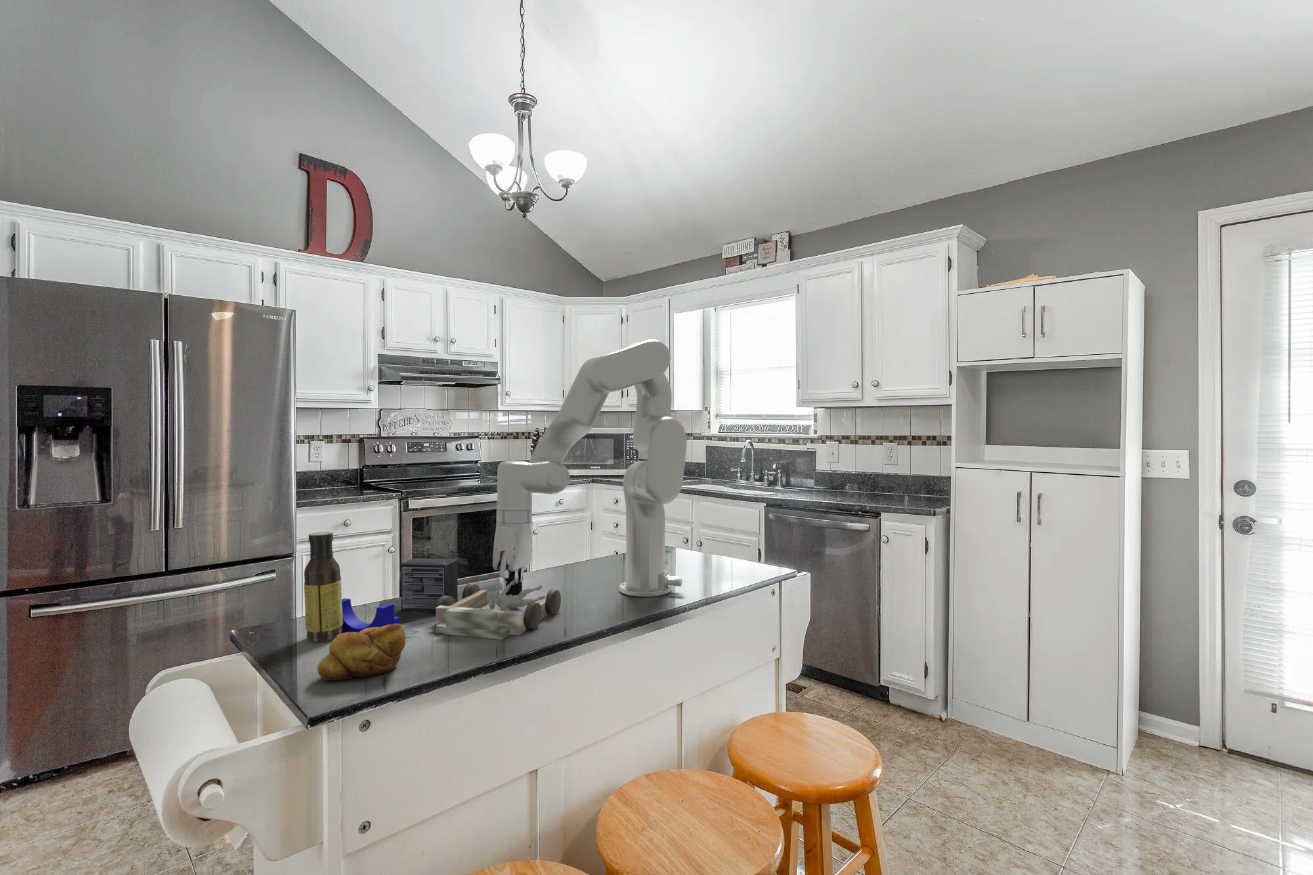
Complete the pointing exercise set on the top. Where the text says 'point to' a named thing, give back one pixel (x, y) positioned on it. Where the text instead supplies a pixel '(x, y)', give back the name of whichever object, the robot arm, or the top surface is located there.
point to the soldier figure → (514, 599)
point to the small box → (427, 583)
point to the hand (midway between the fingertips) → (513, 599)
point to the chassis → (489, 615)
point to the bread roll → (363, 653)
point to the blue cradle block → (356, 625)
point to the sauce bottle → (322, 590)
